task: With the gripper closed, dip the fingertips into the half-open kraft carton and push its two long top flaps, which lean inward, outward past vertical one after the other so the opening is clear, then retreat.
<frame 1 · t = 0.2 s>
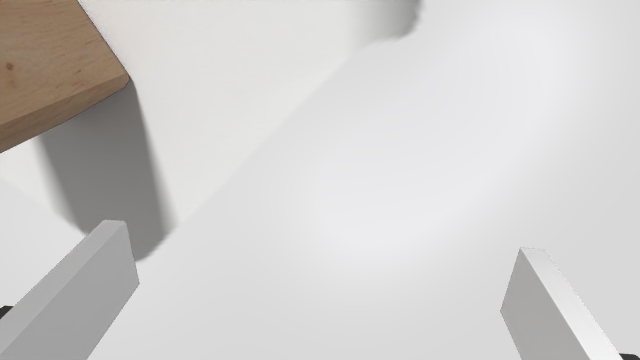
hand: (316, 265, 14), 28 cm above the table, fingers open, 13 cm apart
wooden block: (68, 56, 40), on the table
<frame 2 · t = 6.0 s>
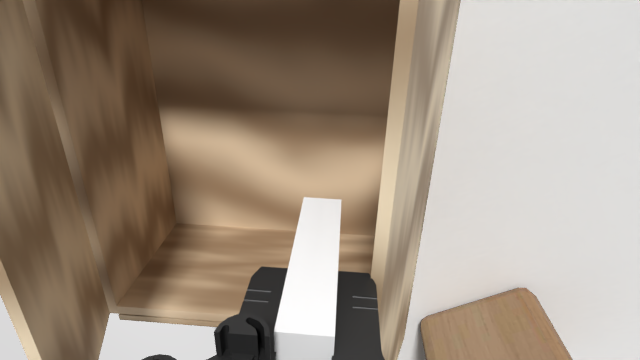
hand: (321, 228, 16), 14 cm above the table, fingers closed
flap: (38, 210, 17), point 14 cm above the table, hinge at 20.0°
wooden block: (486, 334, 37), on the table
carton: (276, 115, 29), on the table
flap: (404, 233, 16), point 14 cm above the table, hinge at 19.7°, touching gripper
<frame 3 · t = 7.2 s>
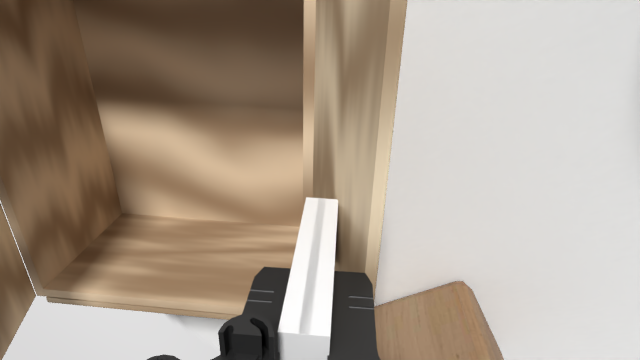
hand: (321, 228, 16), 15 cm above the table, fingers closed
wooden block: (430, 327, 37), on the table
carton: (209, 108, 30), on the table
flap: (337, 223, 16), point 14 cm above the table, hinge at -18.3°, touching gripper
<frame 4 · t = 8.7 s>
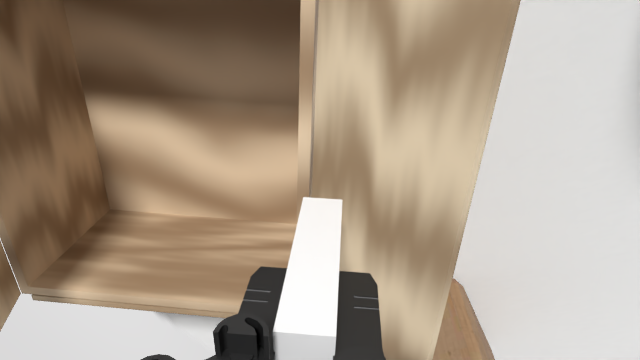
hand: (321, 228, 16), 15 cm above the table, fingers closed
wooden block: (421, 324, 38), on the table
carton: (201, 103, 29), on the table
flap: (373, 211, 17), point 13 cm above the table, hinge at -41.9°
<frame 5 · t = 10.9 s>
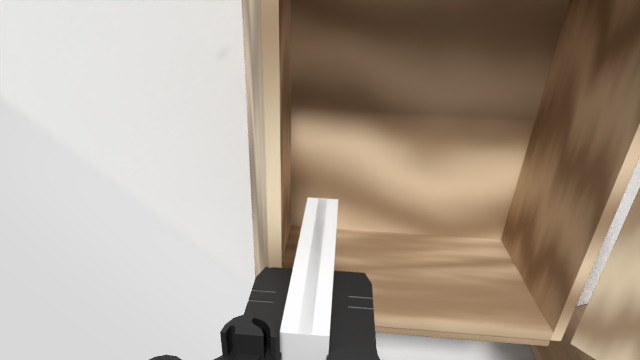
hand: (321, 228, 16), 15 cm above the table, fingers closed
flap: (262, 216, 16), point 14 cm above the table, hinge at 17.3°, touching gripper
wooden block: (588, 337, 37), on the table
carton: (409, 117, 29), on the table
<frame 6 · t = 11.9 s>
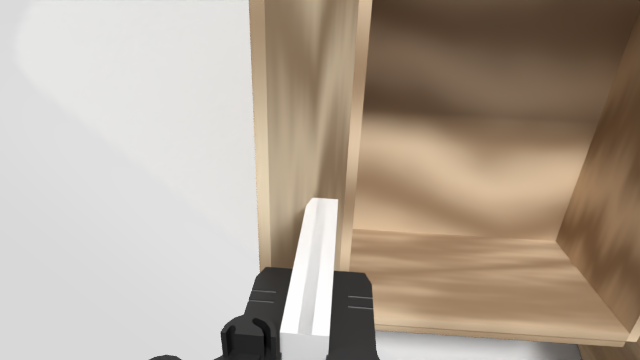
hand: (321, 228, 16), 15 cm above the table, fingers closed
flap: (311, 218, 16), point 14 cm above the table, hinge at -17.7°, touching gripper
wooden block: (633, 336, 37), on the table
carton: (471, 120, 29), on the table
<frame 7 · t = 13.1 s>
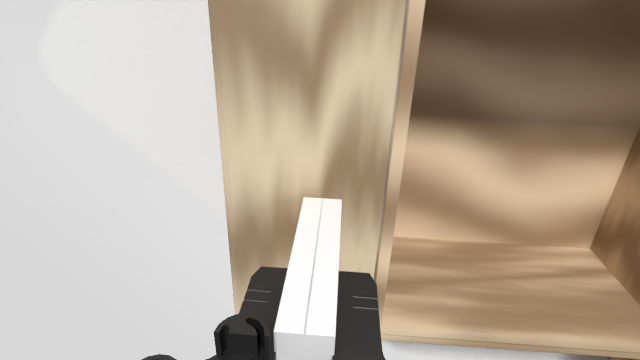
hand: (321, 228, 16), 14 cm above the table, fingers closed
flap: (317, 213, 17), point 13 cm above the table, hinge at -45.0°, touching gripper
carton: (505, 125, 28), on the table
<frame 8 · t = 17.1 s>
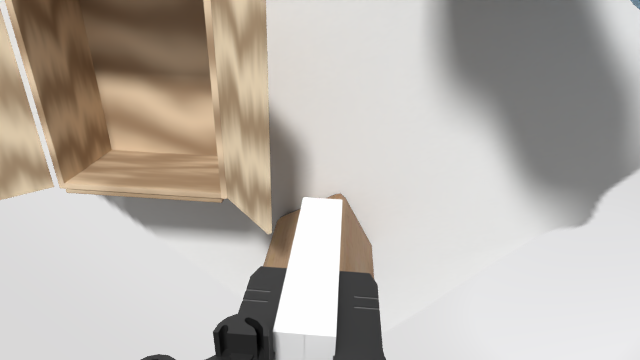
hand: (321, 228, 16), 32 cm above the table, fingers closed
wooden block: (325, 230, 55), on the table
carton: (168, 76, 47), on the table
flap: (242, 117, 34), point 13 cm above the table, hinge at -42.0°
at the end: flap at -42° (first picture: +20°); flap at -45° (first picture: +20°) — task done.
